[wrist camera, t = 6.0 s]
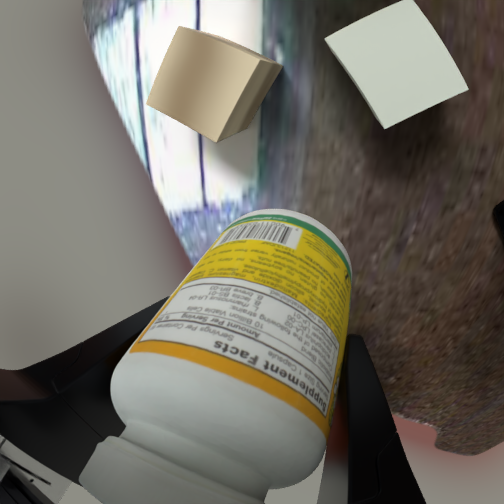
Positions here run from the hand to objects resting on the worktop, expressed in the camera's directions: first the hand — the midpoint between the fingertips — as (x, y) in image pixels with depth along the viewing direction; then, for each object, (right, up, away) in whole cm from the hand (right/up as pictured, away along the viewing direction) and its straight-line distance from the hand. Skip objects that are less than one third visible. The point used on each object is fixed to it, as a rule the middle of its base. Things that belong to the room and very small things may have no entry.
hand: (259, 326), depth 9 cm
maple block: (-2, +14, +8) cm, 16 cm away
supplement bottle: (+1, +2, +3) cm, 3 cm away
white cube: (+8, +13, +5) cm, 16 cm away
